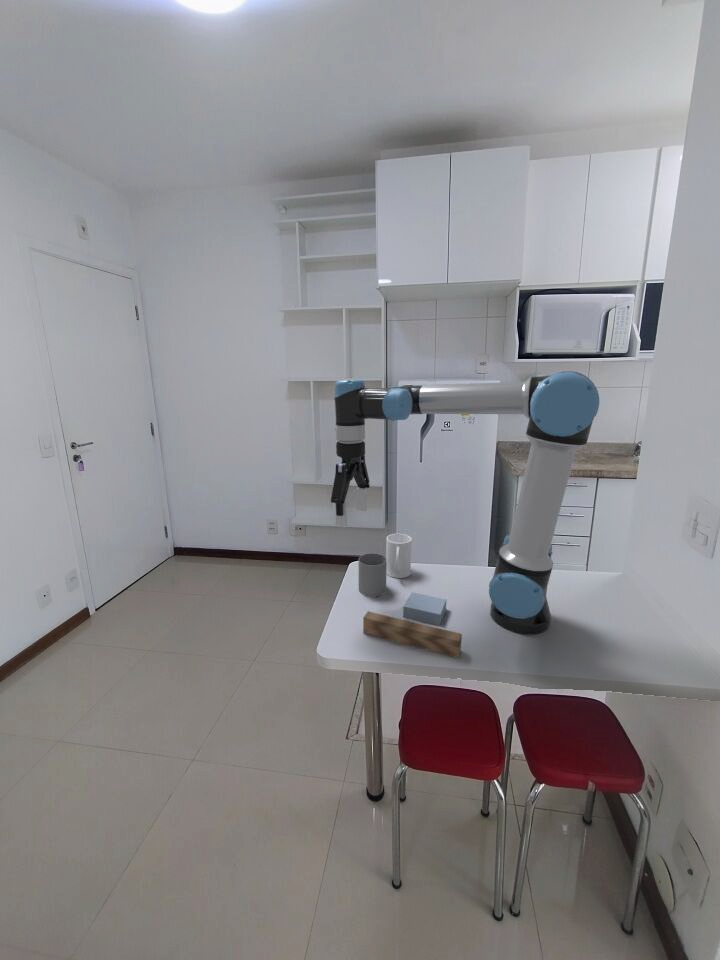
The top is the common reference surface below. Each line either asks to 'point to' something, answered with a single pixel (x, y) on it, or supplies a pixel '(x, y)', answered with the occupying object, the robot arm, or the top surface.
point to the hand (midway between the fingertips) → (352, 518)
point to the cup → (372, 574)
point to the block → (425, 608)
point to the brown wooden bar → (412, 634)
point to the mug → (398, 555)
